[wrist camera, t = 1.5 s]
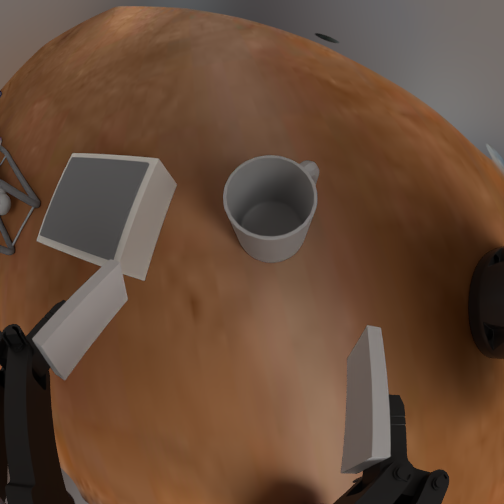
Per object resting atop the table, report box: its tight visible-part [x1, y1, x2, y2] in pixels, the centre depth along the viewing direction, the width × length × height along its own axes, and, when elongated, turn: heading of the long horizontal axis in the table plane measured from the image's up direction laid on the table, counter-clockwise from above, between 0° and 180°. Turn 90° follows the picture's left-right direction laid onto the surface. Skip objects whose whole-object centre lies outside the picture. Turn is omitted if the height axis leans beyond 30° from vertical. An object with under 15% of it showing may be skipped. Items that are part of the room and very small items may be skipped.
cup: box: [223, 155, 319, 263], centre depth 25 cm, size 7×10×9 cm
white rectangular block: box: [37, 153, 177, 281], centre depth 28 cm, size 14×12×6 cm
